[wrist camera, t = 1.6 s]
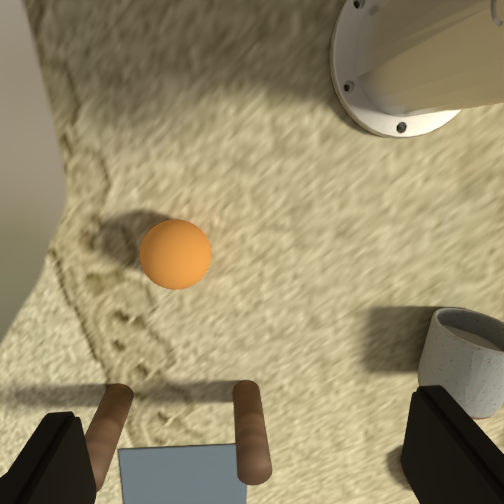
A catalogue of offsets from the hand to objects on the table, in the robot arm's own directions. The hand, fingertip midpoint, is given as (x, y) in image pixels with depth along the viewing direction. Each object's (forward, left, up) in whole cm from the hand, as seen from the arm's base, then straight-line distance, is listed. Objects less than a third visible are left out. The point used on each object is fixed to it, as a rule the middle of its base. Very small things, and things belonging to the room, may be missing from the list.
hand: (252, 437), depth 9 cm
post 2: (+17, +2, -21) cm, 27 cm away
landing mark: (+31, -4, -21) cm, 37 cm away
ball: (+1, -4, -18) cm, 19 cm away
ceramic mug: (+11, +24, -21) cm, 34 cm away
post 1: (+17, -11, -21) cm, 29 cm away
